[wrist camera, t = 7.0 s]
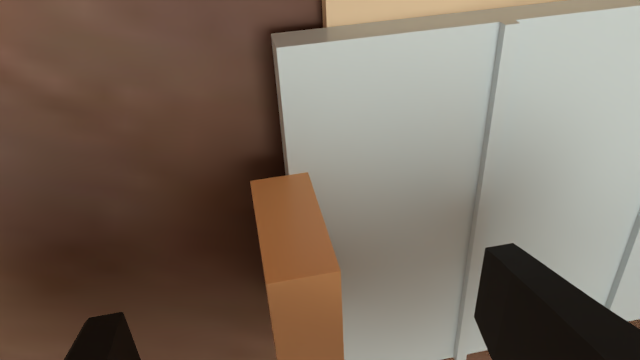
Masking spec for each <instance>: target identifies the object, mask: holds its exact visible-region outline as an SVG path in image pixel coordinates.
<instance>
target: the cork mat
mask: <svg viewBox="0 0 640 360" xmlns="http://www.w3.org/2000/svg"><path fill="white" fill-rule="evenodd" d="M557 1H566V0H322V15H323V28H326V27H335V26H344V25H353V24H362V23H371V22H380V21H388V20H397V19H406V18H415V17H424V16H433V15H442V14H450V13H459V12H468V11H477V10H486V9H495V8H504V7H513V6H521V5H530V4H539V3H548V2H557Z"/></svg>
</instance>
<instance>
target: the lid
mask: <svg viewBox="0 0 640 360" xmlns="http://www.w3.org/2000/svg"><path fill="white" fill-rule="evenodd" d="M271 39H272V49H273V59H274V68H275V78H276V88H277V98H278V107H279V117H280V127H281V136H282V146H283V156H284V165H285V175H286V176H279V177H272V178H266V179H259V180H252V181H250V184H251V191H252V198H253V204H254V211H255V218H256V225H257V231H258V238H259V245H260V251H261V258H262V265H263V272H264V278H265V285H266V292H267V298H268V305H269V312H270V319H271V325H272V332H273V338H274V345H275V351H276V358H277V360H442V359H447V358H451V357H453V358H454V360H466V357H467V354H471V353H476V352H481V351H486V350H488V349H487V347H486V345H485V342H484V340H483V338H482V335H481V333H480V330H479V328H478V325H477V323H476V321H475V318H474V313H475V307H476V301H477V295H478V288H479V282H480V276H481V270H482V264H483V258H484V252H485V248H487V247H493V246H498V245H504V244H510V243H514V244H515V245H517V246H518V247H520V248H521V249H523V250H524V251H526V252H527V253H529V254H530V255H531V256H533V257H534V258H536V259H537V260H539V261H540V262H541V263H543V264H544V265H546V266H547V267H548V268H550V269H551V270H553V271H554V272H555V273H557V274H558V275H560V276H561V277H563V278H564V279H565V280H567V281H568V282H570V283H571V284H573V285H574V286H575V287H577V288H578V289H580V290H581V291H583V292H584V293H586V294H587V295H588V296H590V297H591V298H593V299H594V300H596V301H597V302H599V303H600V304H602V305H603V306H605V307H606V308H608V309H609V310H611V311H612V312H614V313H615V314H617V315H618V316H620V317H621V318H623V319H624V320H626V321H632V320H637V319H640V0H566V1H557V2H548V3H539V4H530V5H521V6H513V7H504V8H495V9H486V10H477V11H468V12H459V13H450V14H442V15H433V16H424V17H415V18H406V19H397V20H388V21H380V22H371V23H362V24H353V25H344V26H335V27H326V28H317V29H308V30H300V31H291V32H282V33H273V34H271Z"/></svg>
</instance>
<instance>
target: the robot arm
mask: <svg viewBox="0 0 640 360" xmlns="http://www.w3.org/2000/svg"><path fill="white" fill-rule="evenodd" d="M474 318H475V321H476V323H477V325H478V328H479V330H480V333H481V335H482V338H483V340H484V342H485V345H486V347H487V349H488V351H489V354H490V356H491V358H492V360H640V329H638V328H637V327H635V326H634V325H632V324H631V323H629V322H628V321H626V320H624V319H623V318H621V317H620V316H618V315H617V314H615V313H614V312H612V311H611V310H609V309H608V308H606V307H605V306H603V305H602V304H600V303H599V302H597V301H596V300H594V299H593V298H591V297H590V296H588V295H587V294H586V293H584V292H583V291H581V290H580V289H578V288H577V287H575V286H574V285H573V284H571V283H570V282H568V281H567V280H565V279H564V278H563V277H561V276H560V275H558V274H557V273H555V272H554V271H553V270H551V269H550V268H548V267H547V266H546V265H544V264H543V263H541V262H540V261H539V260H537V259H536V258H534V257H533V256H531V255H530V254H529V253H527V252H526V251H524V250H523V249H521V248H520V247H518V246H517V245H515V244H514V243H510V244H504V245H498V246H493V247H487V248H485V252H484V258H483V264H482V270H481V276H480V282H479V288H478V295H477V301H476V307H475V313H474ZM64 360H141V359H140V357H139V354H138V351H137V349H136V346H135V343H134V340H133V338H132V335H131V332H130V330H129V327H128V324H127V322H126V319H125V316H124V314H123V312H119V313H114V314H108V315H102V316H97V317H91V318H89V319H88V320H87V321H86V322H85V323H84V325H83V327H82V329H81V331H80V332H79V334H78V336H77V338H76V339H75V341H74V343H73V345H72V347H71V348H70V350H69V352H68V354H67V355H66V357H65V359H64Z"/></svg>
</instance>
